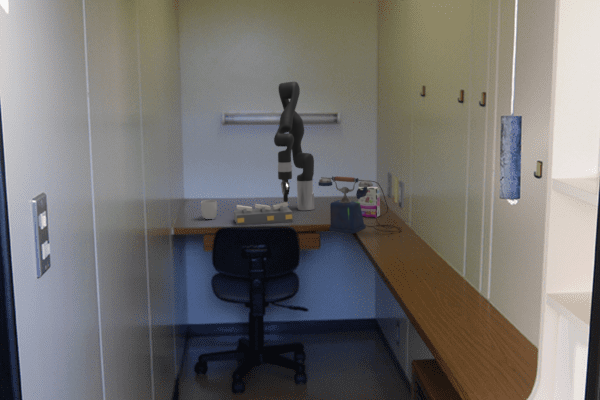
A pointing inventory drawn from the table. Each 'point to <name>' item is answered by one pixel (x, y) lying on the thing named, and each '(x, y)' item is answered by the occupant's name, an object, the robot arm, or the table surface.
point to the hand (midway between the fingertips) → (285, 201)
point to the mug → (209, 208)
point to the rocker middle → (262, 206)
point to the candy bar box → (370, 202)
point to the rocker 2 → (280, 205)
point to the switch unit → (263, 216)
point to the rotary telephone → (349, 207)
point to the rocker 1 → (244, 207)
